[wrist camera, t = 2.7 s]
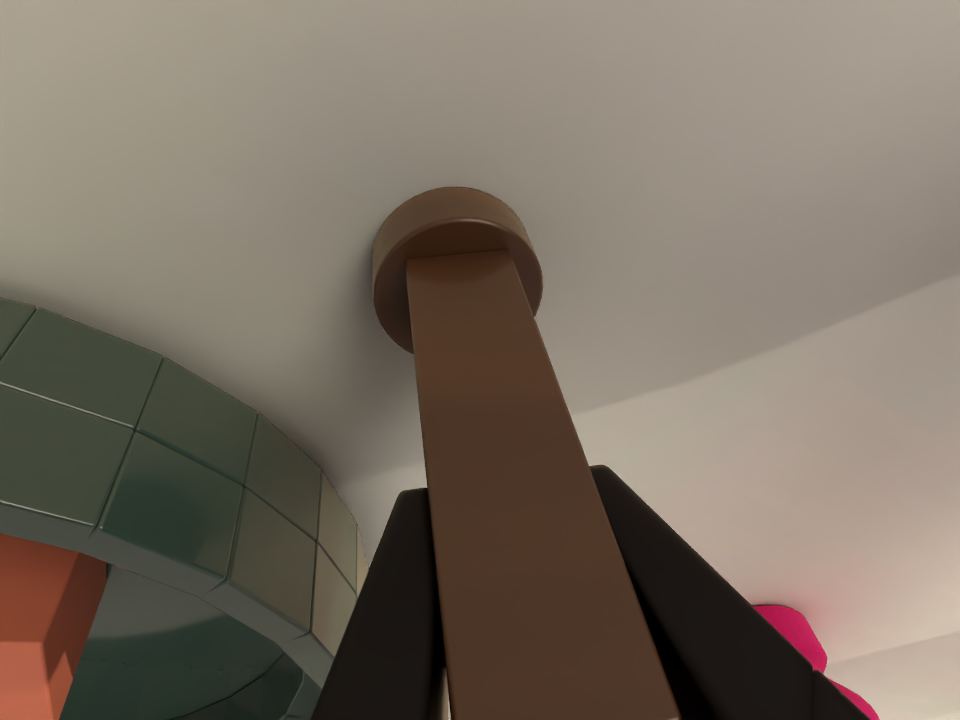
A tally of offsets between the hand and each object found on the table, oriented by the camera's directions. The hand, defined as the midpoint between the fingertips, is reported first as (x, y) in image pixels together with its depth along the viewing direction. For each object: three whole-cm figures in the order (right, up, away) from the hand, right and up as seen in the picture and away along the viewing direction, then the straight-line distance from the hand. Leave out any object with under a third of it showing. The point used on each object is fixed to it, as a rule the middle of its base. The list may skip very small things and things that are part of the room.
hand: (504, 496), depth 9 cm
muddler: (-1, +4, +5) cm, 6 cm away
